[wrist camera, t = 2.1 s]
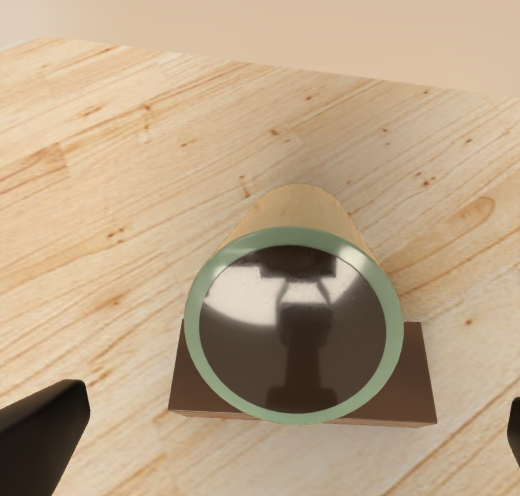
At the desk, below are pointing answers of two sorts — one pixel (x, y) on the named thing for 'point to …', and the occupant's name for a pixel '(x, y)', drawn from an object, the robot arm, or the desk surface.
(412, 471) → the desk surface
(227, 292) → the cup
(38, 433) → the robot arm
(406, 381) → the prop block
